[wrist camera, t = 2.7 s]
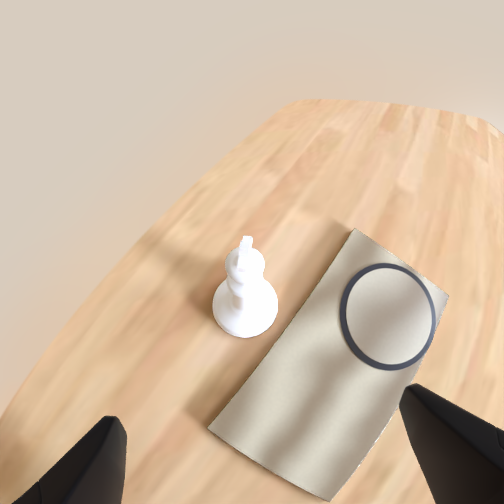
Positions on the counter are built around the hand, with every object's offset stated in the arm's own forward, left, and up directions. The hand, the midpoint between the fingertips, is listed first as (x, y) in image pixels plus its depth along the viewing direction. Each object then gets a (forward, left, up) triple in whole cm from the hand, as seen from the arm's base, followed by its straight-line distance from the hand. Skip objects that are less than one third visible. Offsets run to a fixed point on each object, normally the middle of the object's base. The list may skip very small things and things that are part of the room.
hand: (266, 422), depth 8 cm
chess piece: (+5, -5, -13) cm, 15 cm away
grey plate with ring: (-4, -6, -13) cm, 15 cm away
